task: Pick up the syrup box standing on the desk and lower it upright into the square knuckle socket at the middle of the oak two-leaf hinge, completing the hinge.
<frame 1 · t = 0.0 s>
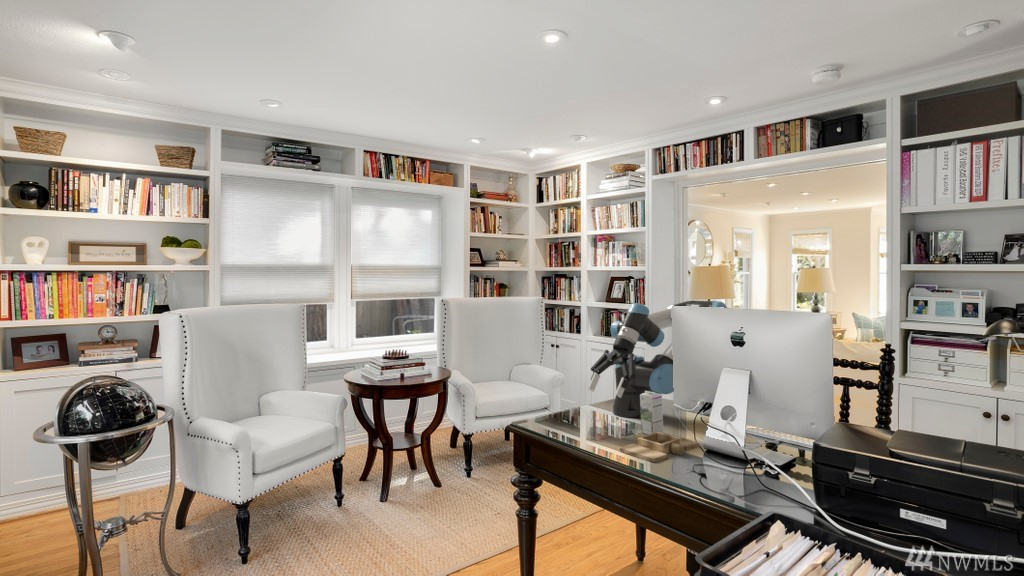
hand: (603, 392, 193), 15 cm above the table, tool tilted 35°, fingers open, 13 cm apart
syrup box: (652, 434, 193), on the table
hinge: (659, 448, 177), on the table
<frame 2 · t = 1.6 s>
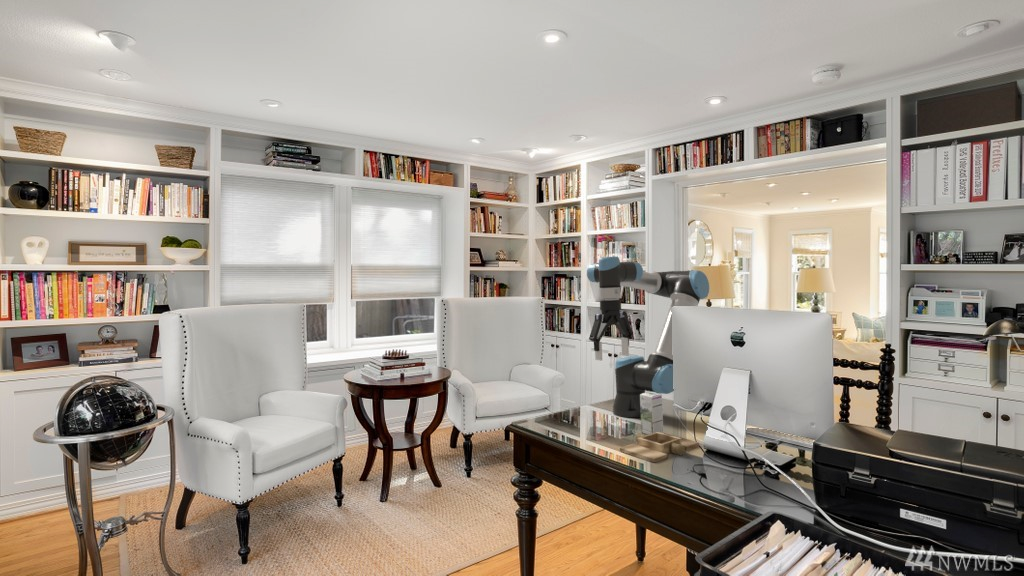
hand: (612, 357, 195), 28 cm above the table, tool pointing down, fingers open, 13 cm apart
nothing on the table moved.
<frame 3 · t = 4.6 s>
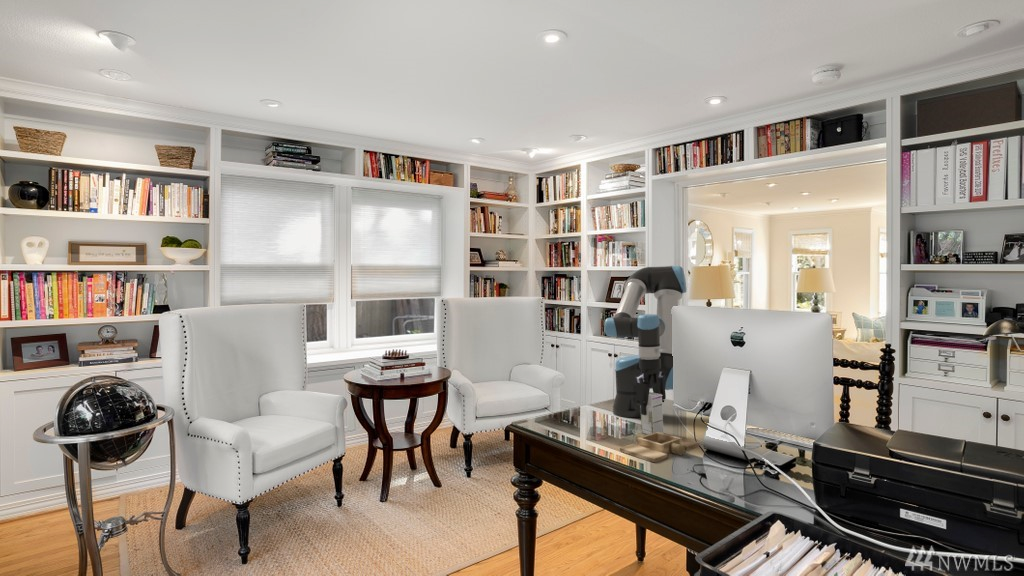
hand: (652, 421, 193), 4 cm above the table, tool pointing down, fingers closed on syrup box, 6 cm apart
syrup box: (652, 434, 193), on the table, touching gripper
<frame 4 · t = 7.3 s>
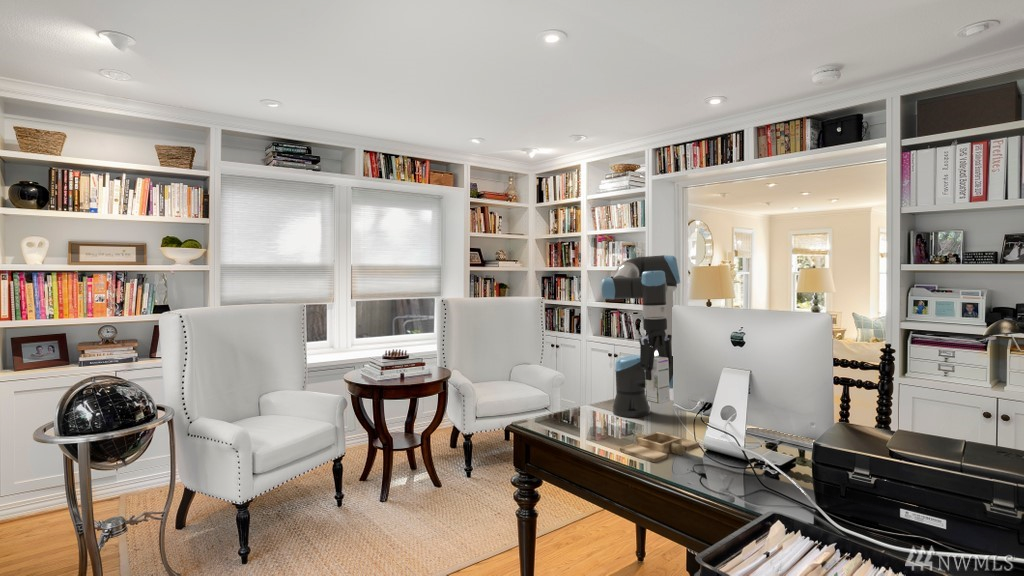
hand: (657, 387, 176), 20 cm above the table, tool pointing down, fingers closed on syrup box, 6 cm apart
syrup box: (657, 401, 176), point 16 cm above the table, touching gripper
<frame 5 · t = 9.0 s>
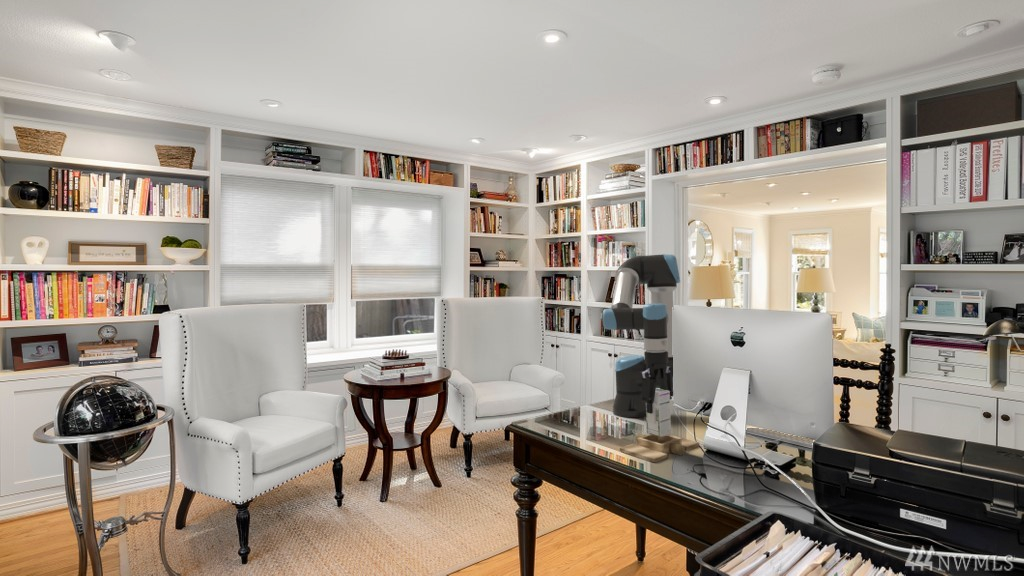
hand: (658, 420, 176), 9 cm above the table, tool pointing down, fingers closed on syrup box, 6 cm apart
syrup box: (658, 434, 176), point 5 cm above the table, touching gripper
when the fingers open (6 cm above the table, at t = 10.1 s): syrup box drops 1 cm, resting in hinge.
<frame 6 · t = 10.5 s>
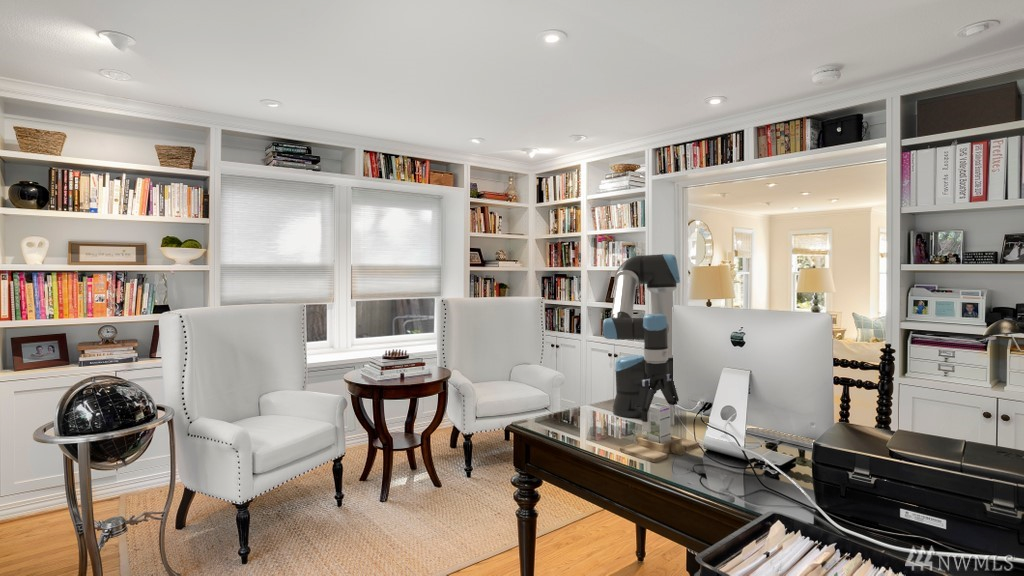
hand: (658, 427, 176), 7 cm above the table, tool pointing down, fingers open, 11 cm apart
syrup box: (659, 449, 176), resting in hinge
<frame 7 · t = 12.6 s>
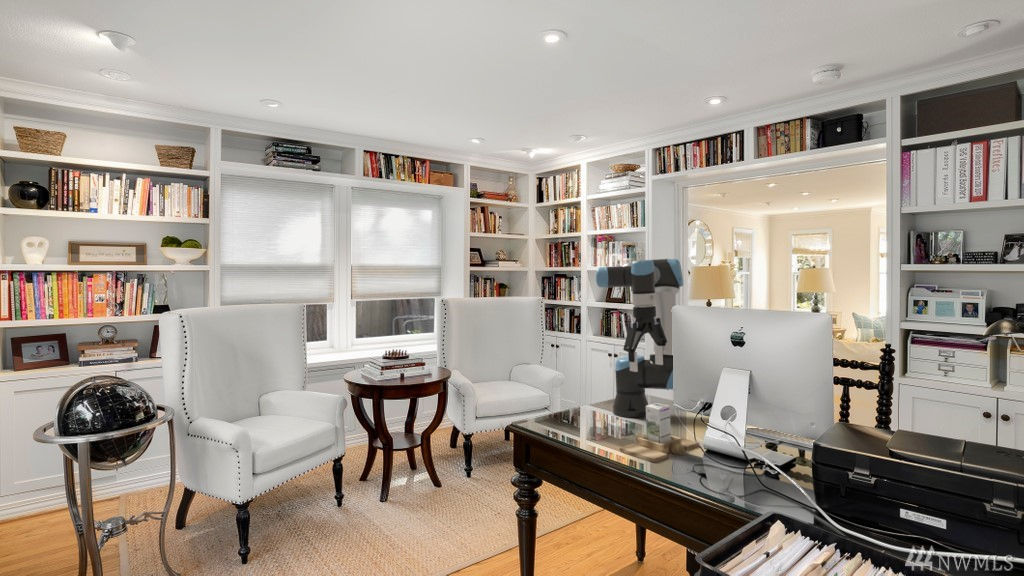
hand: (646, 367, 182), 26 cm above the table, tool pointing down, fingers open, 13 cm apart
nothing on the table moved.
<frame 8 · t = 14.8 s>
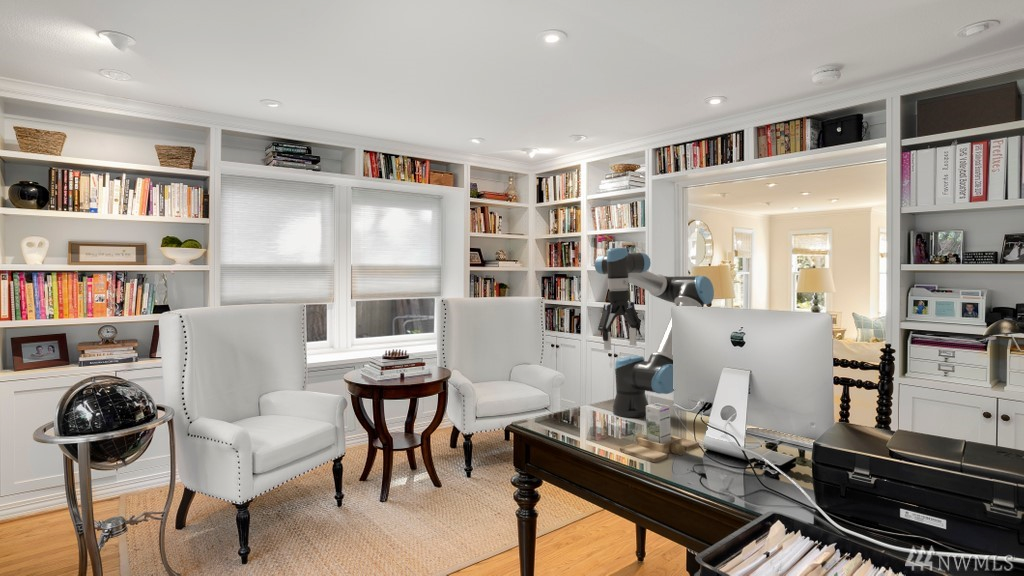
hand: (620, 347, 198), 31 cm above the table, tool pointing down, fingers open, 13 cm apart
nothing on the table moved.
at the end: syrup box 0.1 cm off-centre on the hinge, point 0.0 cm above the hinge's base; syrup box tilted 0°; the gripper is holding nothing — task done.
